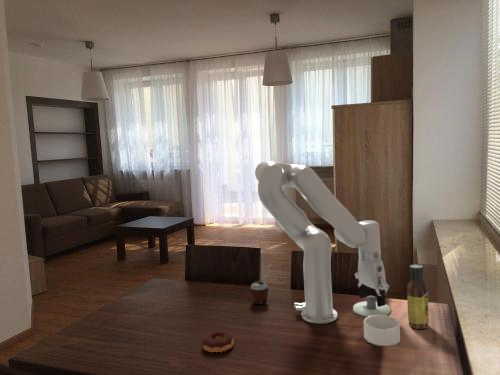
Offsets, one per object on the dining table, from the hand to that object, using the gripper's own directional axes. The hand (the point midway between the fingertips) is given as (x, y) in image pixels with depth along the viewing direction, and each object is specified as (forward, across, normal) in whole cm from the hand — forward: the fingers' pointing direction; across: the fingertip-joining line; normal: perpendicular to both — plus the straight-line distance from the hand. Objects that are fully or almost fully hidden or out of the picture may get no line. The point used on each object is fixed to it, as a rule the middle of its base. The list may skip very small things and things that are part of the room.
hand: (372, 301), depth 149 cm
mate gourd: (+3, +28, +32) cm, 43 cm away
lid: (+3, 0, 0) cm, 3 cm away
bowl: (+3, -18, +12) cm, 22 cm away
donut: (+3, +3, +58) cm, 58 cm away
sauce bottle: (+3, -18, -4) cm, 19 cm away
